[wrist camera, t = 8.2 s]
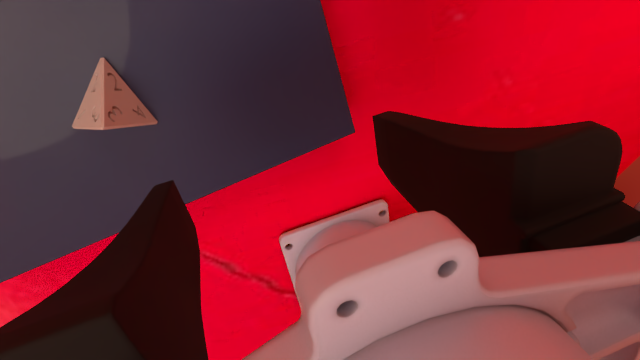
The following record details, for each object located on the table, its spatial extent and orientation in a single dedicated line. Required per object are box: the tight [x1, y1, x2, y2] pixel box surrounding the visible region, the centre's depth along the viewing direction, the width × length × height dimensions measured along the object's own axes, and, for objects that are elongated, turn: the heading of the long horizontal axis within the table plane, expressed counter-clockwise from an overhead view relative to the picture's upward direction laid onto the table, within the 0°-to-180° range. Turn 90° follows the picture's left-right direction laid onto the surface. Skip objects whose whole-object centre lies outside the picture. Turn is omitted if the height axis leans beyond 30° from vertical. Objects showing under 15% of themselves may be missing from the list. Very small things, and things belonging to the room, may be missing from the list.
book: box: [0, 0, 355, 283], centre depth 18 cm, size 14×20×3 cm
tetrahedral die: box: [72, 58, 158, 130], centre depth 17 cm, size 4×3×3 cm
